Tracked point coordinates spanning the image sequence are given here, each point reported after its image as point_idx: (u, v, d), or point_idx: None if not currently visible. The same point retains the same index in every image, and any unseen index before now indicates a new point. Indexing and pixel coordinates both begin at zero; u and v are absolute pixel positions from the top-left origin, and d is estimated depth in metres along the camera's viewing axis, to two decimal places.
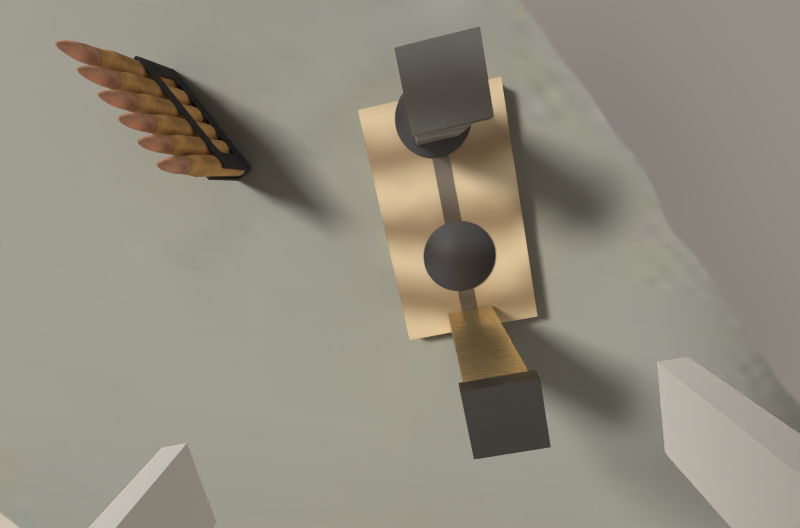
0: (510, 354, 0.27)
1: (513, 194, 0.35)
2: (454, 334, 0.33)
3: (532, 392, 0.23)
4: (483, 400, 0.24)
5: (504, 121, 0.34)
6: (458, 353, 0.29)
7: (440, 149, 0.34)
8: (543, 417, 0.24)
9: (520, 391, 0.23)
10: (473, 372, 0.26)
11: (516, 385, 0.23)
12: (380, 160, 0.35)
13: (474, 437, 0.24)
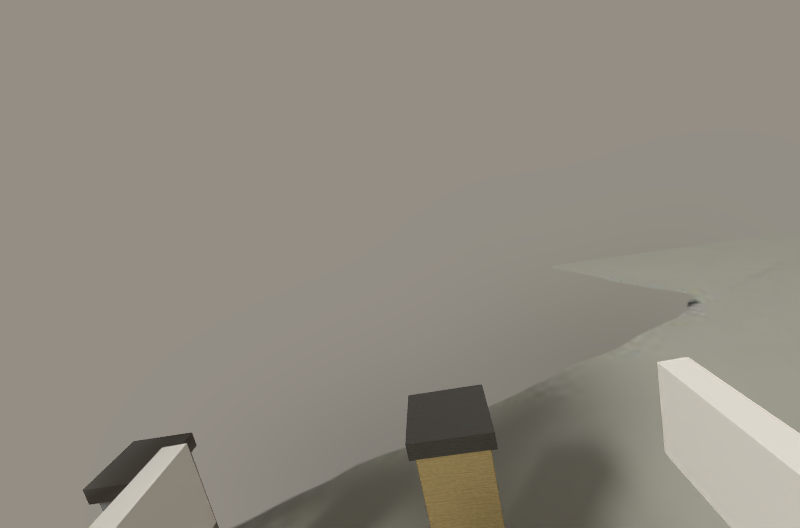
0: None
1: None
2: None
3: (421, 398, 0.25)
4: (420, 427, 0.22)
5: None
6: (430, 524, 0.23)
7: None
8: (449, 390, 0.25)
9: (418, 405, 0.24)
10: None
11: (410, 407, 0.24)
12: None
13: (465, 432, 0.21)
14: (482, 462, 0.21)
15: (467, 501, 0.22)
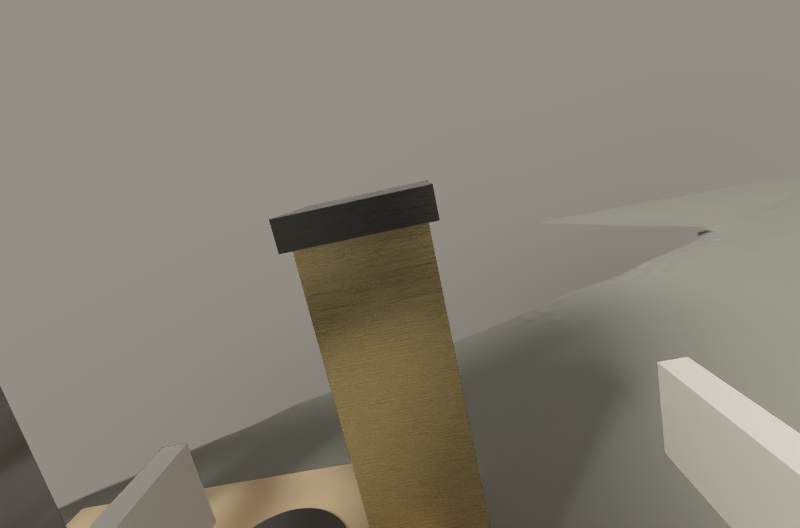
0: None
1: (234, 488, 0.23)
2: (358, 482, 0.14)
3: (327, 202, 0.15)
4: (307, 209, 0.12)
5: None
6: (331, 388, 0.13)
7: None
8: (373, 192, 0.15)
9: (318, 204, 0.14)
10: None
11: None
12: None
13: (379, 195, 0.11)
14: (415, 257, 0.12)
15: (393, 337, 0.12)
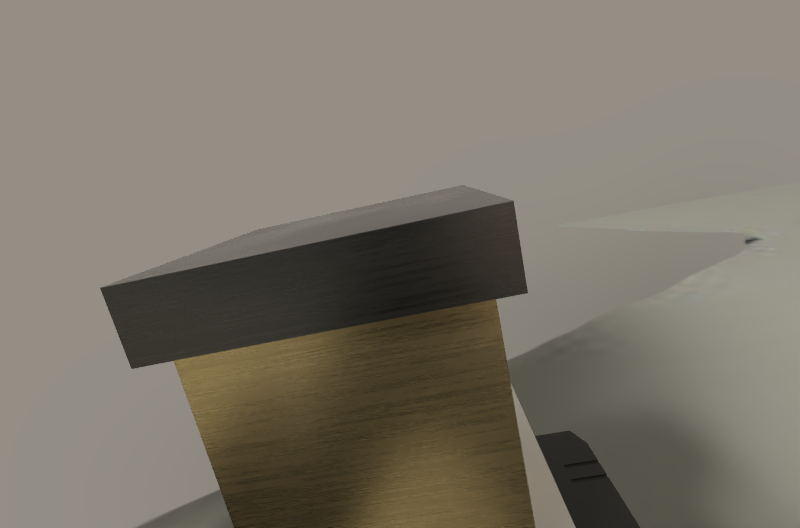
0: None
1: None
2: None
3: (285, 224, 0.08)
4: (219, 252, 0.06)
5: None
6: None
7: None
8: (368, 206, 0.09)
9: (264, 231, 0.08)
10: None
11: (238, 238, 0.08)
12: None
13: (375, 227, 0.05)
14: (460, 372, 0.05)
15: None
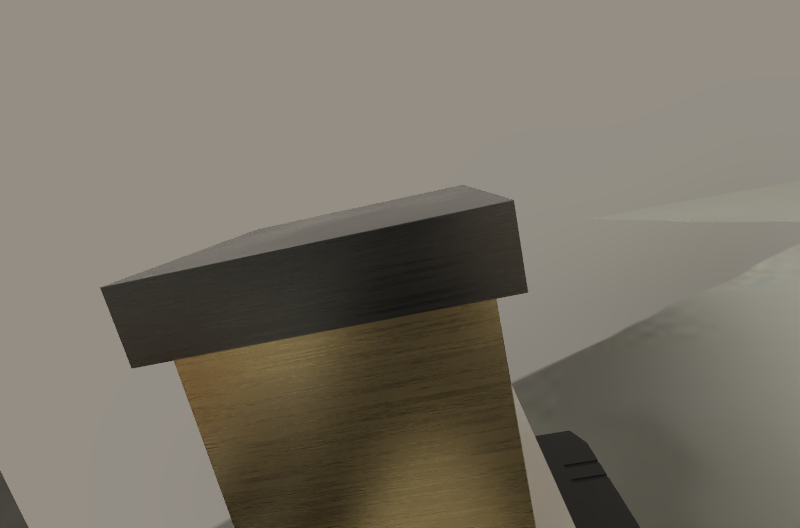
0: None
1: None
2: None
3: (285, 224, 0.08)
4: (219, 251, 0.06)
5: None
6: None
7: None
8: (368, 205, 0.09)
9: (265, 231, 0.08)
10: None
11: (238, 237, 0.08)
12: None
13: (375, 226, 0.05)
14: (461, 371, 0.05)
15: None
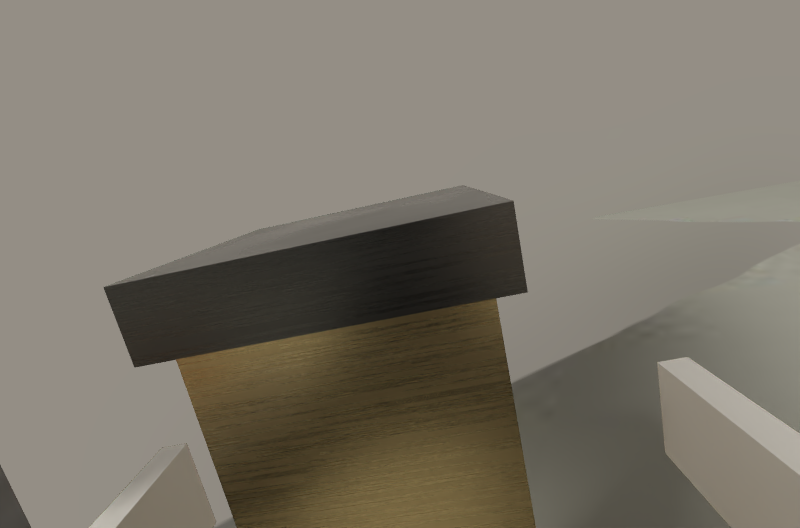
0: None
1: None
2: None
3: (286, 224, 0.08)
4: (221, 251, 0.06)
5: None
6: None
7: None
8: (369, 206, 0.09)
9: (266, 231, 0.08)
10: None
11: (239, 237, 0.08)
12: None
13: (376, 227, 0.05)
14: (460, 370, 0.05)
15: None
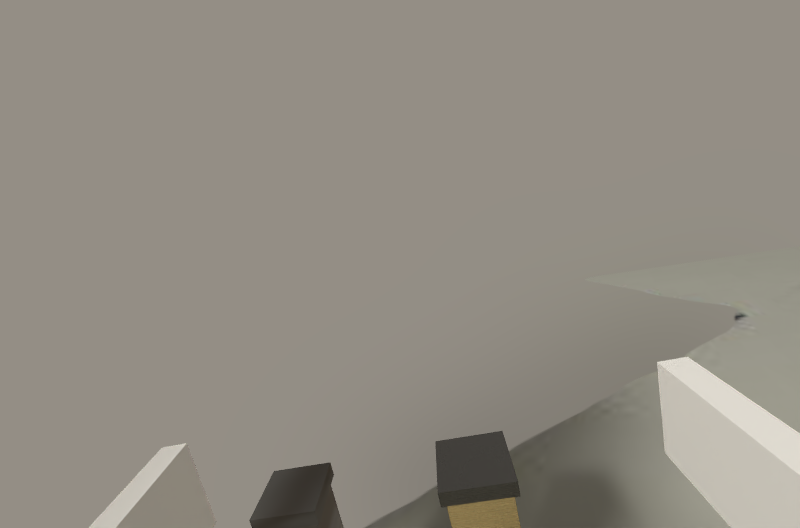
0: None
1: None
2: None
3: (447, 444, 0.27)
4: (450, 475, 0.25)
5: None
6: None
7: None
8: (472, 437, 0.28)
9: (445, 451, 0.27)
10: None
11: (438, 454, 0.27)
12: None
13: (490, 481, 0.23)
14: (506, 507, 0.24)
15: None
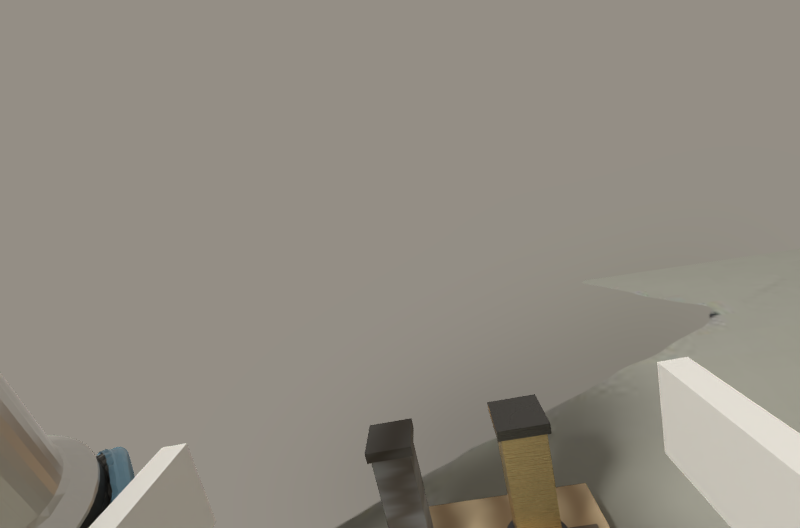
0: (498, 443, 0.40)
1: (485, 501, 0.46)
2: (514, 514, 0.37)
3: (496, 404, 0.39)
4: (502, 422, 0.36)
5: (431, 507, 0.47)
6: (508, 482, 0.37)
7: None
8: (513, 398, 0.39)
9: (496, 408, 0.38)
10: (501, 448, 0.37)
11: (491, 410, 0.38)
12: None
13: (531, 424, 0.35)
14: (541, 442, 0.35)
15: (532, 466, 0.36)
